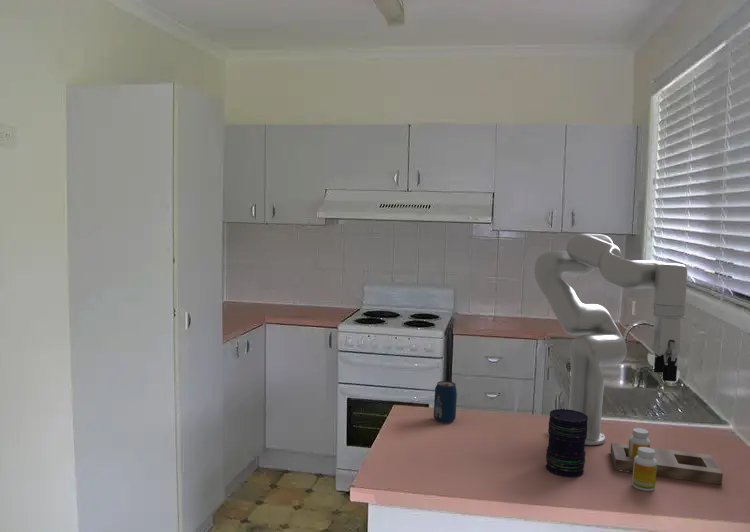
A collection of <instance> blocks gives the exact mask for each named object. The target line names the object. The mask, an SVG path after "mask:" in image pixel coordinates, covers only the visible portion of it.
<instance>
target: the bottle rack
mask: <svg viewBox="0 0 750 532" xmlns="http://www.w3.org/2000/svg"><path fill="white" fill-rule="evenodd" d="M628 447H629V443H628V444H626V443H618V442H610V452H611V454H610V457H611V456H612V457H611V461H612V460H613V461H612V465H613V464H614V465H613V469H614V468H615V469H614V471H617V470H622V471H621V472H624V471H629V472H628V473H631V472H633V466H634V458H632V457H628ZM650 448H651V449H653V450H655V457H654V458H655V459H656V461H657V470H656V477H661V476H663V477H662V478H668V477H669V479H677V480H683V479H685V481H690V480H691V481H692V482H697V483H698V482H699V483H706V484H713V485H721V486H722V485H723V478H724V477H723V476H724V473H723V471H722V470H721V469H720V466H719V465H718V464H717V462H716V461H715V459H714V458H713V456H712V455H711V454H708V453H707V454H705V453H704V454H703V453H700V452H699V453H698V452H692V451H691V452H688V451H681V450H673V449H666V448H659V447H658V448H657V447H651V446H650ZM610 452H609V453H610Z"/></svg>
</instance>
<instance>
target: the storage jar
mask: <svg viewBox="0 0 750 532" xmlns="http://www.w3.org/2000/svg"><path fill="white" fill-rule="evenodd" d="M587 421H588V416H587V415H585V414H584V413H581V412H578V411H574V410H569V408H568V409H567V408H557V409H552V410H551V411H550V412H549V421H548V429H547V431H548V433H547V434H548V445H547V446H546V455H545V459H546V460H545V461H546V465H545V469H546V470H547V471H548V472H549V473H551V474H553V475H555V476H558V477H562V478H572V479H573V478H579V477H582V476H583V475H584V472H585V471H584V470H585V464H586V451H585V448H586V445H585V440H586V438H587V430H588V427H587V425H588V423H587Z"/></svg>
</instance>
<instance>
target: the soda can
mask: <svg viewBox="0 0 750 532" xmlns="http://www.w3.org/2000/svg"><path fill="white" fill-rule="evenodd" d="M457 395H458V388H457V386H456V383H455V382H453V381H448V380H447V381H446V380H440V381H437V383H436V386H435V387H434V399H433V400H434V401H433V403H434V404H433V418H434V420H435V421H436V422H437V423H440V424H446V425H447V424H452V423H454V421H455V419H456V418H457V417H456V416H457V399H458V398H457V397H458V396H457Z"/></svg>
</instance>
